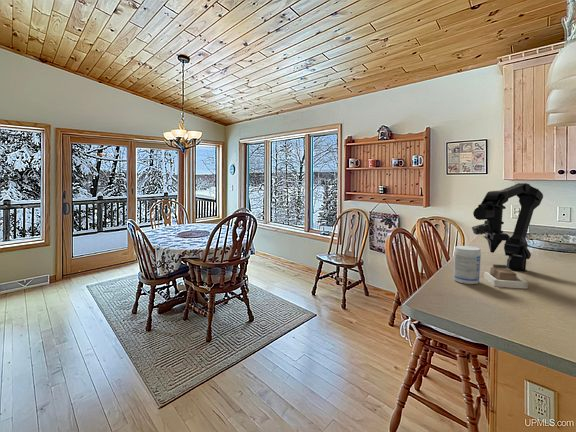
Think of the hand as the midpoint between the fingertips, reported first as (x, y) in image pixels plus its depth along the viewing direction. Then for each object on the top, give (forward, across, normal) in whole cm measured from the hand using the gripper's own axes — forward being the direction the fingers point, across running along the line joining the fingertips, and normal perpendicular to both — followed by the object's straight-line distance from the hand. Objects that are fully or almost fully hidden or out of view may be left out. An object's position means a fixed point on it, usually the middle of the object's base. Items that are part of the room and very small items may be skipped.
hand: (492, 252), depth 137 cm
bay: (+10, +12, +1) cm, 16 cm away
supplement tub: (+10, +15, -14) cm, 23 cm away
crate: (+10, +12, 0) cm, 15 cm away
